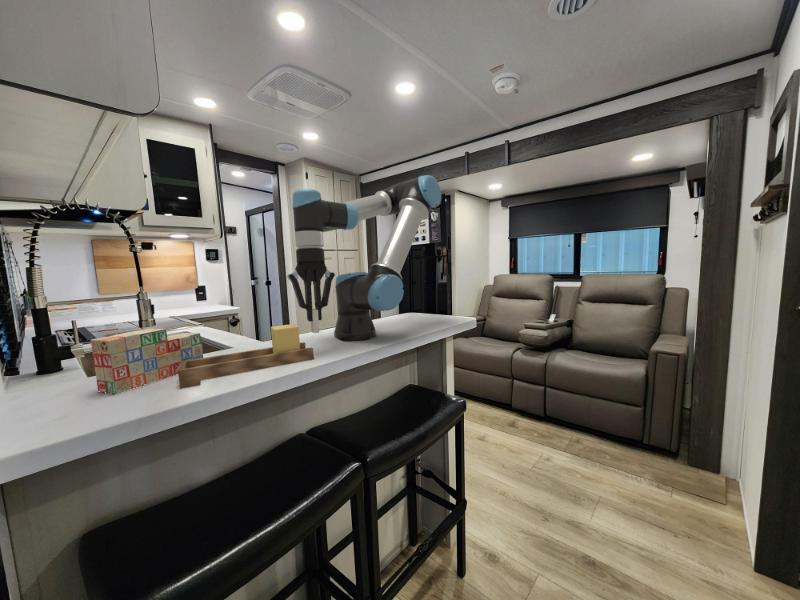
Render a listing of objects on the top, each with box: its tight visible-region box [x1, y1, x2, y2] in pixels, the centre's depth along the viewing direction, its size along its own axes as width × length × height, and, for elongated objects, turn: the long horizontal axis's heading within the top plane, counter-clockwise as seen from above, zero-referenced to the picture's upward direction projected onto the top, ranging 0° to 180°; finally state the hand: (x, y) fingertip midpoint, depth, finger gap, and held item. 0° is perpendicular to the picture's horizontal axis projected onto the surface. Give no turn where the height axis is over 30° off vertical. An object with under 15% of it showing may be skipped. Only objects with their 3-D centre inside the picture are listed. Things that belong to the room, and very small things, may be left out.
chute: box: [177, 341, 315, 389], centre depth 82 cm, size 30×9×4 cm, turn 121°
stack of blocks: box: [90, 328, 204, 395], centre depth 80 cm, size 21×6×12 cm, turn 161°
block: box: [270, 323, 301, 354], centre depth 87 cm, size 6×6×9 cm
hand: (315, 332), depth 91 cm, fingers closed
